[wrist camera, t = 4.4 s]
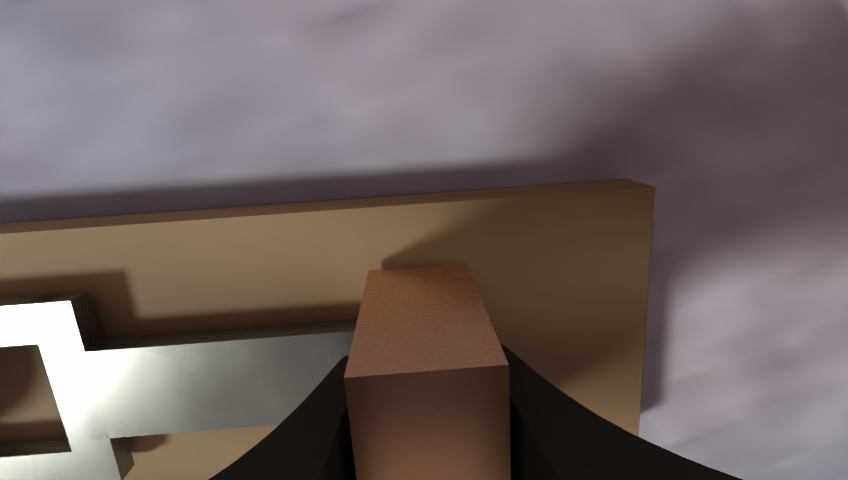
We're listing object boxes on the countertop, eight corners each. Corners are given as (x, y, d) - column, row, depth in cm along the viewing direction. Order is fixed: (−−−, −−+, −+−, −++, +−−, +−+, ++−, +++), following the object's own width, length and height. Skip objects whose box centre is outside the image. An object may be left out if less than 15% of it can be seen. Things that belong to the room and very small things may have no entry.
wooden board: (614, 426, 15) (636, 459, 13) (-82, 484, 14) (-136, 525, 13) (627, 179, 13) (654, 187, 11) (-187, 237, 12) (-266, 253, 11)
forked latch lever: (484, 435, 13) (530, 619, 8) (-93, 482, 12) (-392, 703, 8) (478, 262, 11) (529, 363, 7) (-167, 310, 11) (-582, 451, 6)
